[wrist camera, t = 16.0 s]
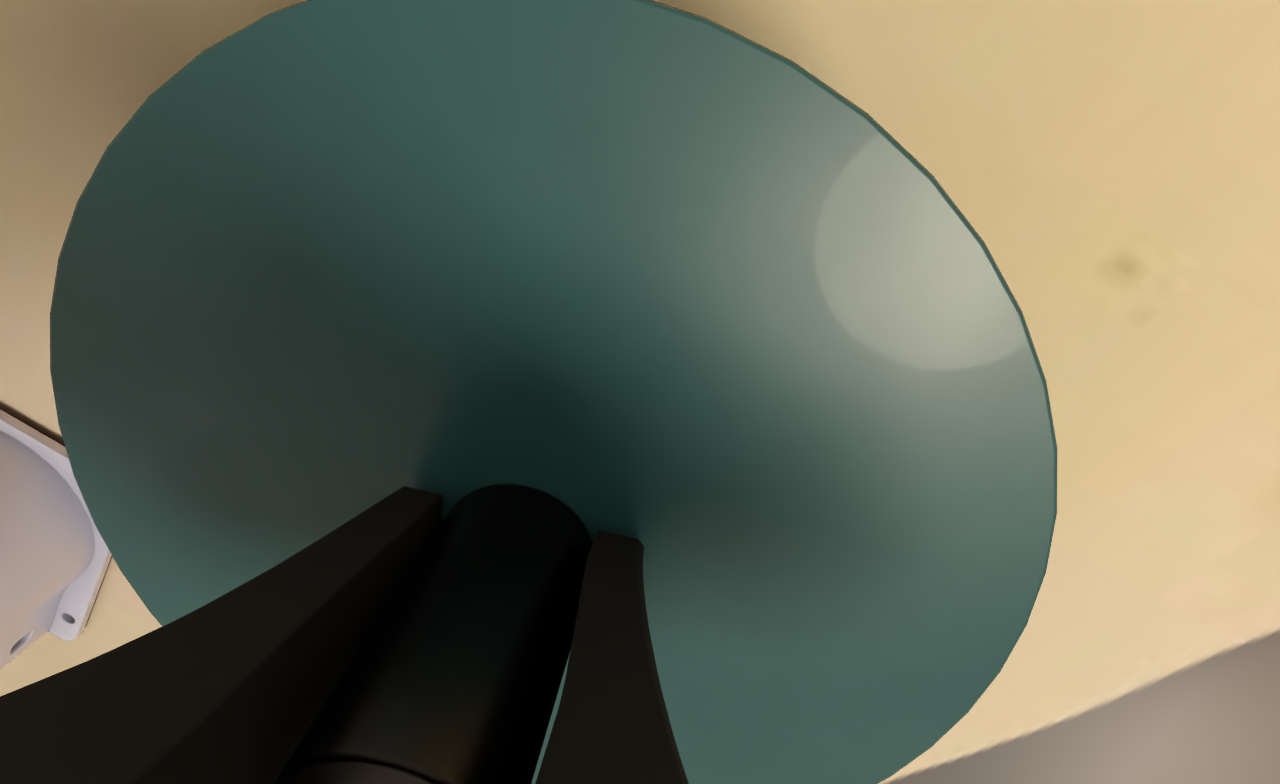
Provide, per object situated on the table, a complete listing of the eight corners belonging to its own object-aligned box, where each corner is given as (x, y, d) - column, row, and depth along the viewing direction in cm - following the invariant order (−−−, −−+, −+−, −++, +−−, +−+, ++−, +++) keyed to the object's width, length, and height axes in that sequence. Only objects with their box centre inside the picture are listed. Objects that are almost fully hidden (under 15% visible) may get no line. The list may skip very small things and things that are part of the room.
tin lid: (648, 879, 16) (606, 1245, 11) (36, 541, 14) (-365, 813, 9) (1276, 452, 9) (1876, 889, 4) (289, -352, 7) (-797, -1337, 2)
